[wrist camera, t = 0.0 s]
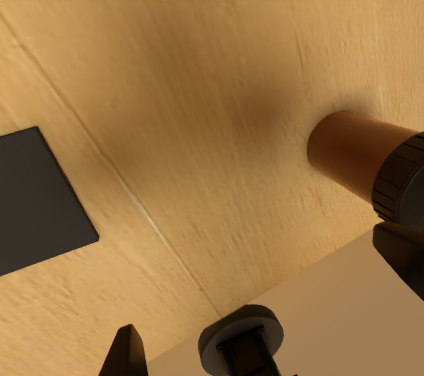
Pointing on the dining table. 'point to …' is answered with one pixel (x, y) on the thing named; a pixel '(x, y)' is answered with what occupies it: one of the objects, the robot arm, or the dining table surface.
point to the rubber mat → (36, 204)
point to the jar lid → (402, 185)
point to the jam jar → (353, 149)
